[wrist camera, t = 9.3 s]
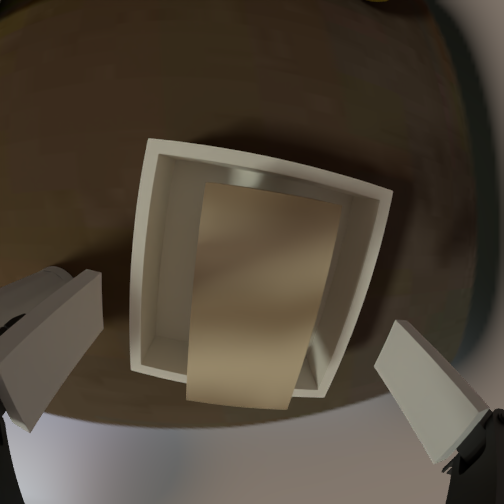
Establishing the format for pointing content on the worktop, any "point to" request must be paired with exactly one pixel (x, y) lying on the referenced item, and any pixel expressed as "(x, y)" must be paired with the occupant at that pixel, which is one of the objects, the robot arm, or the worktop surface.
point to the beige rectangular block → (256, 293)
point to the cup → (30, 292)
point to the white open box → (186, 239)
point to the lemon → (376, 0)
